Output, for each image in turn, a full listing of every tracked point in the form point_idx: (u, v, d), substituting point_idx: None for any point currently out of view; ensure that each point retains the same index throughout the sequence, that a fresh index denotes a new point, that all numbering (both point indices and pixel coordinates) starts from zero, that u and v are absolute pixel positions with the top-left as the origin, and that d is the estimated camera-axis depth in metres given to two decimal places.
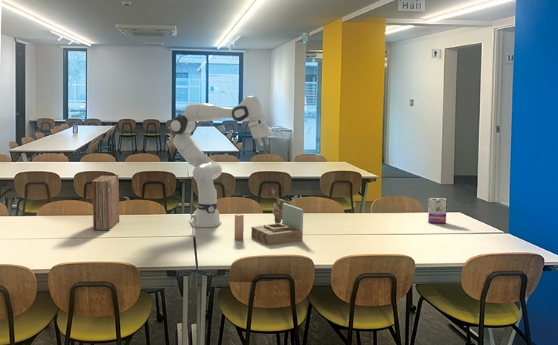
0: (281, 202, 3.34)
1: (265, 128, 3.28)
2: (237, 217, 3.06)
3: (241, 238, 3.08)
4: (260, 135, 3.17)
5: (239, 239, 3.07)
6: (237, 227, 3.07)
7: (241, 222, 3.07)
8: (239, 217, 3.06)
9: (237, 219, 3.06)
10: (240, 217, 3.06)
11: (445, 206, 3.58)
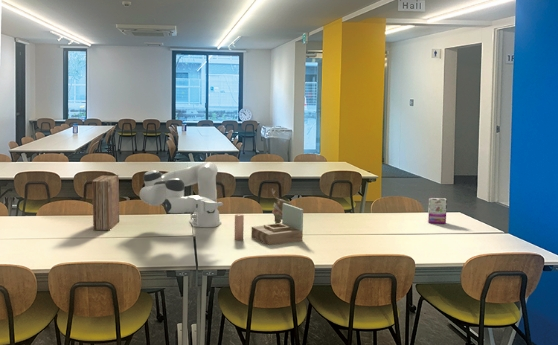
0: (281, 202, 3.34)
1: None
2: (237, 217, 3.06)
3: (241, 238, 3.08)
4: (214, 201, 2.92)
5: (239, 239, 3.07)
6: (237, 227, 3.07)
7: (241, 222, 3.07)
8: (239, 217, 3.06)
9: (237, 219, 3.06)
10: (240, 217, 3.06)
11: (445, 206, 3.58)
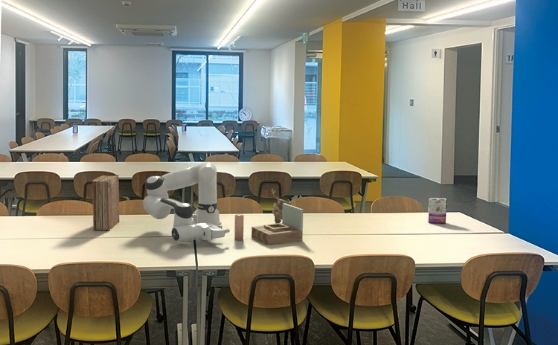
0: (281, 202, 3.34)
1: None
2: (237, 217, 3.06)
3: (241, 238, 3.08)
4: (221, 229, 2.95)
5: (239, 239, 3.07)
6: (237, 227, 3.07)
7: (241, 222, 3.07)
8: (239, 217, 3.06)
9: (237, 219, 3.06)
10: (240, 217, 3.06)
11: (445, 206, 3.58)
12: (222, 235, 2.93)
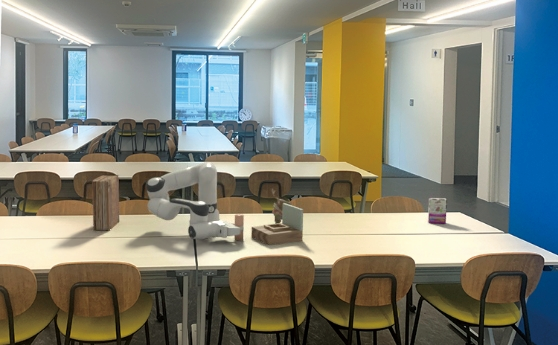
0: (281, 202, 3.34)
1: None
2: (237, 217, 3.06)
3: (241, 238, 3.08)
4: (236, 226, 3.00)
5: (239, 239, 3.07)
6: None
7: (241, 222, 3.07)
8: (239, 217, 3.06)
9: (237, 219, 3.06)
10: (240, 217, 3.06)
11: (445, 206, 3.58)
12: (238, 232, 2.98)
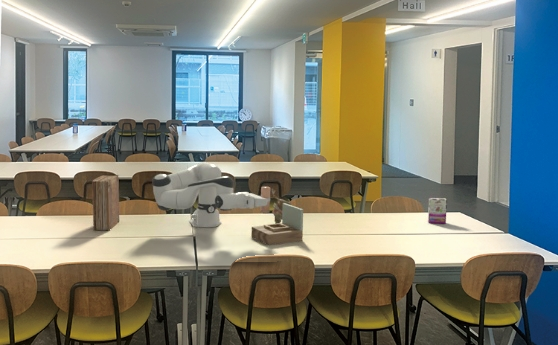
0: (281, 202, 3.34)
1: None
2: (264, 189, 3.04)
3: (267, 210, 3.06)
4: (263, 198, 2.98)
5: (265, 211, 3.05)
6: None
7: (268, 194, 3.04)
8: (266, 189, 3.04)
9: (264, 191, 3.04)
10: (267, 189, 3.04)
11: (445, 206, 3.58)
12: (265, 204, 2.96)
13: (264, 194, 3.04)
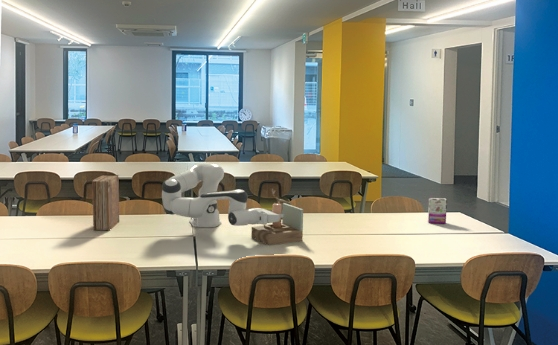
0: (281, 202, 3.34)
1: None
2: (275, 206, 3.08)
3: (279, 227, 3.10)
4: None
5: None
6: None
7: (279, 211, 3.09)
8: (277, 206, 3.08)
9: (275, 208, 3.08)
10: (278, 206, 3.08)
11: (445, 206, 3.58)
12: (277, 219, 3.00)
13: (276, 211, 3.09)
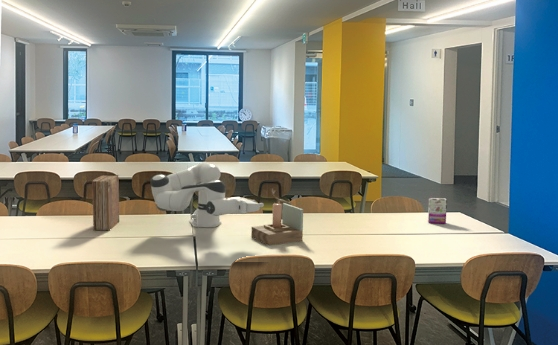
0: (281, 202, 3.34)
1: None
2: (275, 206, 3.08)
3: (279, 227, 3.10)
4: None
5: None
6: (275, 216, 3.09)
7: (279, 211, 3.09)
8: (277, 206, 3.08)
9: (275, 208, 3.08)
10: (278, 206, 3.08)
11: (445, 206, 3.58)
12: (257, 209, 2.92)
13: (276, 211, 3.09)
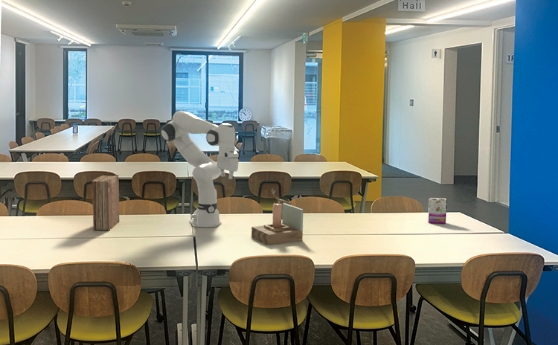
0: (281, 202, 3.34)
1: None
2: (275, 206, 3.08)
3: (279, 227, 3.10)
4: None
5: None
6: (275, 216, 3.09)
7: (279, 211, 3.09)
8: (277, 206, 3.08)
9: (275, 208, 3.08)
10: (278, 206, 3.08)
11: (445, 206, 3.58)
12: (233, 168, 2.96)
13: (276, 211, 3.08)
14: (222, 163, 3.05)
